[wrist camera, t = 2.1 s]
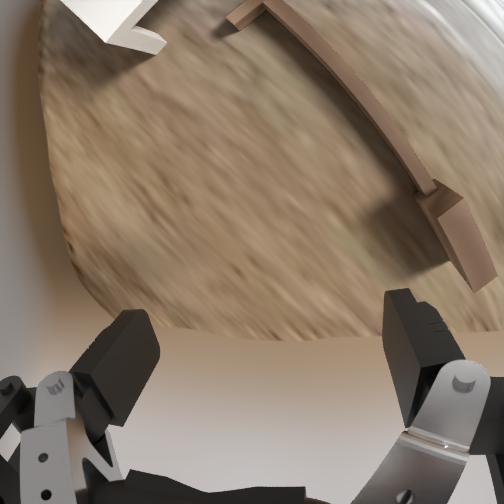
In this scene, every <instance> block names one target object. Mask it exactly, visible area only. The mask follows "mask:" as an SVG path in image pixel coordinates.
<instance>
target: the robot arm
mask: <svg viewBox="0 0 504 504" xmlns="http://www.w3.org/2000/svg"><path fill="white" fill-rule="evenodd" d="M382 338H383V348H384V352H385V355H386V358H387V362H388V365H389V369H390V372H391V376H392V379H393V383H394V386H395V390H396V394H397V397H398V401H399V405H400V408H401V413H402V417H403V421H404V425H405V428H409V427H410V428H409V429H408V431H403V432H402V434H401V435H400V436H399V438H398V439H397V441H396V442H395V444H394V445H393V447H392V448H391V450H390V451H389V453H388V454H387V456H386V457H385V459H384V460H383V462H382V463H381V464H380V466H379V467H378V469H377V470H376V472H375V473H374V474H373V476H372V477H371V478H370V480H369V481H368V482H367V484H366V485H365V486H364V487H363V489H362V490H361V491H360V493H359V494H358V495H357V496H356V498H355V499H354V500H353V501H352V502H351V504H447V503H448V501H449V499H450V497H451V495H452V493H453V491H454V489H455V487H456V485H457V483H458V481H459V479H460V477H461V474H462V472H463V470H464V468H465V465H466V463H467V460H468V458H469V455H486V458H487V462H488V465H489V468H490V473H491V477H492V481H493V486H494V490H495V495H496V499H497V504H504V377H490V376H489V373H488V372H487V370H486V369H485V368H484V367H483V366H481V365H480V364H478V363H476V362H473V361H470V360H466V359H465V357H464V355H463V353H462V352H461V350H460V348H459V346H458V344H457V343H456V341H455V339H454V337H453V336H452V334H451V332H450V331H449V330H448V327H447V326H446V324H445V322H443V319H442V317H441V316H440V314H439V313H438V311H437V309H435V308H434V307H432V306H431V305H429V304H428V303H427V302H418V303H417V301H416V300H415V298H414V296H413V295H412V293H411V291H410V290H409V289H408V288H405V289H397V290H389V291H386V292H385V295H384V312H383V329H382ZM159 358H160V346H159V343H158V341H157V338H156V335H155V333H154V330H153V327H152V325H151V322H150V319H149V316H148V314H147V312H146V311H145V310H143V309H133V310H123V311H122V312H121V313H120V314H119V316H118V317H117V318H116V319H115V320H114V321H113V323H112V324H111V325H110V326H108V327H107V328H106V329H104V330H103V331H102V332H101V333H100V334H99V335H98V336H97V338H96V339H95V341H94V342H93V343H92V344H91V345H90V346H89V349H87V350H86V351H85V352H84V353H83V354H82V356H81V357H80V358H79V360H78V361H77V362H76V363H75V364H74V366H73V367H72V368H71V369H70V371H69V372H66V371H58V372H54V373H52V374H50V375H48V376H46V377H45V378H44V379H43V380H42V381H41V382H40V383H39V385H38V387H33V388H26V386H25V385H24V383H23V381H22V380H21V378H20V377H18V376H10V377H7V378H5V379H3V380H2V381H0V439H1V437H2V436H3V435H4V433H5V431H6V430H7V429H8V427H9V426H10V424H11V423H12V424H13V425H14V427H15V428H16V429H17V430H18V431H19V432H20V434H21V441H20V443H19V445H18V446H17V448H16V449H15V451H14V453H13V454H12V456H11V458H10V459H9V461H8V462H7V461H6V460H5V459H4V458H3V457H2V456H1V455H0V504H330V503H328V502H324V501H321V500H317V499H312V498H307V497H306V489H305V487H251V488H245V489H238V490H231V491H223V492H213V493H207V492H203V491H200V490H197V489H195V488H192V487H190V486H187V485H185V484H182V483H180V482H177V481H175V480H172V479H170V478H168V477H165V476H159V475H154V474H150V473H145V472H140V471H136V470H131V469H130V471H129V473H128V475H127V477H126V479H125V480H124V479H123V477H122V475H121V473H120V470H119V466H118V463H117V459H116V455H115V452H114V448H113V444H112V440H111V436H110V433H109V432H108V430H107V429H106V428H107V427H108V425H109V424H111V425H116V426H121V427H123V426H124V423H125V422H126V420H127V418H128V416H129V414H130V413H131V411H132V409H133V407H134V405H135V403H136V401H137V400H138V398H139V396H140V394H141V392H142V390H143V388H144V387H145V385H146V383H147V381H148V379H149V377H150V376H151V374H152V372H153V370H154V368H155V366H156V364H157V363H158V361H159Z"/></svg>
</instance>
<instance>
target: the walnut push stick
mask: <svg viewBox="0 0 504 504" xmlns="http://www.w3.org/2000/svg"><path fill="white" fill-rule="evenodd" d="M266 10H267V11H268V12H269V13H270V14H271V15H272V16H273V17H274V18H276V19H277V20H278V21H279V22H280V23H281V24H282V25H283V26H284V27H285V28H286V29H287V30H289V31H290V32H291V33H292V34H293V35H294V36H295V37H296V38H297V39H298V40H299V41H300V42H301V43H302V44H303V45H304V46H305V47H306V48H307V49H308V50H309V51H310V52H311V53H312V54H313V55H314V56H315V57H316V58H317V60H318V61H319V62H320V63H321V64H322V65H323V66H324V67H325V68H326V69H327V70H328V71H329V72H330V74H331V75H332V76H333V77H334V78H335V79H336V80H337V81H338V83H339V84H340V85H341V86H342V87H343V88H344V90H345V91H346V92H347V93H348V94H349V95H350V97H351V98H352V99H353V100H354V101H355V103H356V104H357V105H358V106H359V108H360V109H361V110H362V111H363V113H364V114H365V115H366V116H367V118H368V119H369V120H370V121H371V123H372V124H373V125H374V127H375V128H376V129H377V131H378V132H379V133H380V135H381V136H382V137H383V139H384V140H385V142H386V143H387V144H388V146H389V147H390V148H391V150H392V151H393V153H394V154H395V156H396V157H397V158H398V160H399V161H400V163H401V164H402V166H403V167H404V169H405V170H406V172H407V173H408V175H409V176H410V178H411V179H412V181H413V183H414V184H415V186H416V187H417V189H418V192H417V193H415V194H414V195H413V197H414V198H415V200H416V201H417V203H418V205H419V206H420V208H421V210H422V211H423V213H424V215H425V216H426V218H427V220H428V221H429V223H430V225H431V226H432V228H433V230H434V232H435V233H436V235H437V237H438V239H439V241H440V242H441V244H442V246H443V248H444V250H445V252H446V254H447V256H448V257H449V259H450V261H451V262H452V264H453V265H454V266H455V268H456V269H457V270H458V272H459V273H460V274H461V276H462V277H463V278H464V280H465V281H466V282H467V284H468V285H469V287H470V288H471V289H472V291H473V292H474V293H476V292H477V291H478V290H480V289H481V288H482V287H484V286H485V285H486V284H488V283H489V282H490V281H491V280H493V279H494V278H495V277H497V273H496V270H495V268H494V265H493V262H492V260H491V257H490V255H489V252H488V250H487V247H486V245H485V243H484V240H483V238H482V236H481V233H480V231H479V229H478V227H477V224H476V222H475V220H474V218H473V216H472V214H471V212H470V210H469V207H468V205H467V203H466V201H465V199H464V198H463V197H462V196H460V195H459V194H457V193H456V192H454V191H453V190H451V189H450V188H448V187H447V186H445V185H444V184H442V183H440V182H439V181H437V180H436V179H434V180H432V179H431V177H430V175H429V174H428V172H427V170H426V169H425V167H424V166H423V164H422V163H421V161H420V159H419V158H418V156H417V155H416V153H415V152H414V150H413V149H412V147H411V146H410V144H409V143H408V141H407V140H406V138H405V137H404V135H403V134H402V133H401V131H400V130H399V128H398V127H397V126H396V124H395V123H394V121H393V120H392V119H391V117H390V116H389V115H388V113H387V112H386V111H385V109H384V108H383V107H382V105H381V104H380V103H379V102H378V100H377V99H376V98H375V97H374V95H373V94H372V93H371V92H370V90H369V89H368V88H367V87H366V85H365V84H364V83H363V82H362V81H361V79H360V78H359V77H358V76H357V75H356V74H355V72H354V71H353V70H352V69H351V68H350V67H349V66H348V64H347V63H346V62H345V61H344V60H343V59H342V58H341V57H340V56H339V55H338V53H337V52H336V51H335V50H334V49H333V48H332V47H331V46H330V45H329V44H328V43H327V42H326V41H325V40H324V39H323V38H322V37H321V36H320V35H319V34H318V33H317V32H316V31H315V30H314V29H313V28H312V27H311V26H310V25H309V24H308V23H307V22H306V21H305V20H304V19H303V18H302V17H301V16H299V15H298V14H297V13H296V12H295V11H294V10H293V9H292V8H291V7H290V6H288V5H287V4H286V3H285V2H284V1H283V0H246V1H245V2H244V3H242V4H241V5H240V6H239V7H237V8H236V9H235V10H234V11H232V12H231V13H230V14H229V15H228V16H227V17H226V18H227V19H228V20H229V21H230V22H231V23H232V24H233V25H234V26H235V27H236V28H237V29H238V30H239V31H241V30H242V29H243V28H244V27H246V26H247V25H248V24H249V23H251V22H252V21H253V20H254V19H255V18H257V17H258V16H259V15H260V14H262V13H263V12H264V11H266Z"/></svg>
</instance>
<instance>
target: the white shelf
mask: <svg viewBox="0 0 504 504" xmlns="http://www.w3.org/2000/svg"><path fill="white" fill-rule="evenodd" d="M61 1H62V2H63V3H64V4H65V5H66V6H67V7H68V8H69V9H70V10H72V11H73V12H74V13H75V14H76V15H77V16H78V17H79V18H80V19H81V20H82V21H83V22H84V23H85V24H86V25H87V26H89V27H90V28H91V29H92V30H93V31H94V32H95V33H96V34H97V35H98V36H99V37H100V38H101V39H102V40H103V41H104V42H105V43H109V44H113V45H118V46H122V47H127V48H131V49H135V50H139V51H143V52H147V53H150V54H154V55H157V54H158V53H159V52H160V51H161V50H162V49H163V47H164V46H165V45H166V44H167V42H166V41H165V40H164V39H163V38H162V37H161V36H160V35H158V34H157V33H154V32H152V31H149V30H147V29H144V28H142V27H139V26H136V25H135V24H136V23H137V22H138V21H139V20H140V19H141V18H142V17H143V16H144V15H145V14H146V12H147V11H148V10H149V9H150V8H151V7H152V6H153V5H154V4H155V3H156V2H157V1H158V0H61Z"/></svg>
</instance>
